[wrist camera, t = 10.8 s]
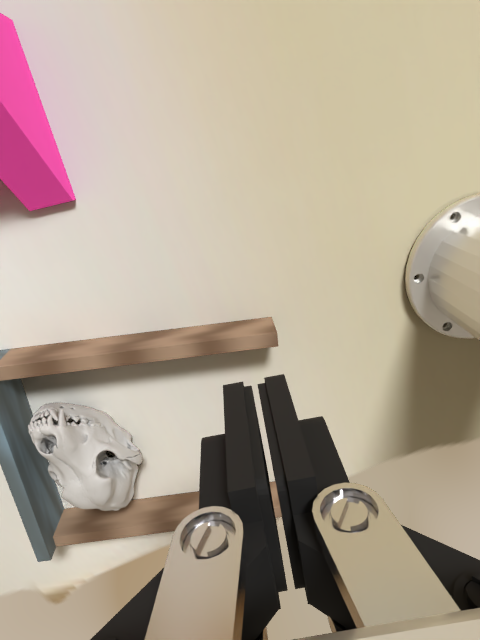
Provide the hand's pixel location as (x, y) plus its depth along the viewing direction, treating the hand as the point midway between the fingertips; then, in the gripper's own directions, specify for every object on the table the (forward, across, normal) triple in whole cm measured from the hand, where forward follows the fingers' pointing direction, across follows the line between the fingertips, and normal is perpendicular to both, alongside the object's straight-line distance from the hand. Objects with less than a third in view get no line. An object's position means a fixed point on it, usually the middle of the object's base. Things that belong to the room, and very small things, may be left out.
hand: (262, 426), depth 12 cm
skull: (+26, +16, +16) cm, 35 cm away
